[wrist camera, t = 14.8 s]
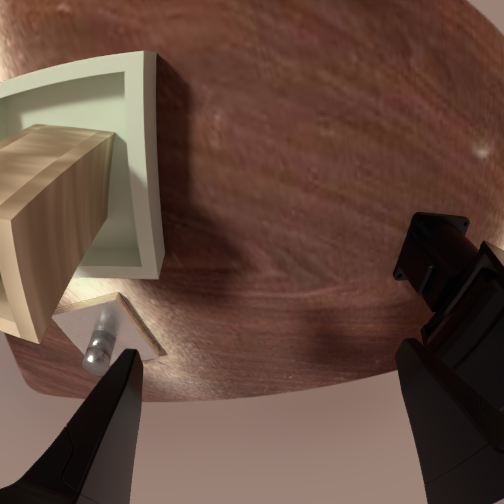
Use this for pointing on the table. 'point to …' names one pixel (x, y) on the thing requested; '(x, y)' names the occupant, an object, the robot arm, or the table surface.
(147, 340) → the stand
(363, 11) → the table surface
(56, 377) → the table surface
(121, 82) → the green tray
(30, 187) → the birch sleeve
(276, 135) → the table surface
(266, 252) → the table surface
